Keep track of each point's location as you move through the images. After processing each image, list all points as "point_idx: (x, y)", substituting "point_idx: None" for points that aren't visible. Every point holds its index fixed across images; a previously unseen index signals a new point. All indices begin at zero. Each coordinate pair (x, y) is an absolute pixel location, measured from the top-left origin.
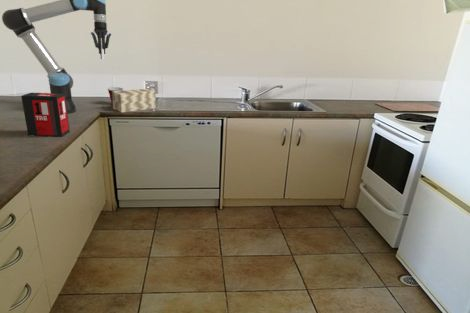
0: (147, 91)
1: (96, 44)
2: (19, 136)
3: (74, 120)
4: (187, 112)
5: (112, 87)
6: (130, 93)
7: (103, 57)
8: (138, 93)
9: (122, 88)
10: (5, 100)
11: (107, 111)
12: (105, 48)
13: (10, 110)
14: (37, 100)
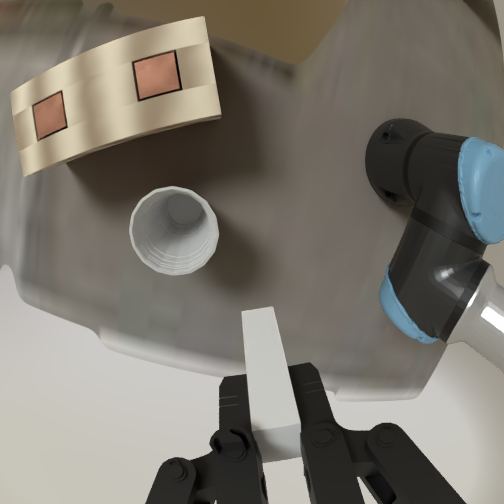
0: (40, 85)
1: (426, 467)
2: None
3: (392, 19)
4: (6, 21)
5: (181, 270)
6: (139, 32)
7: (255, 324)
8: (93, 50)
9: (131, 236)
10: (443, 351)
11: (258, 83)
12: (216, 444)
13: None
14: None
